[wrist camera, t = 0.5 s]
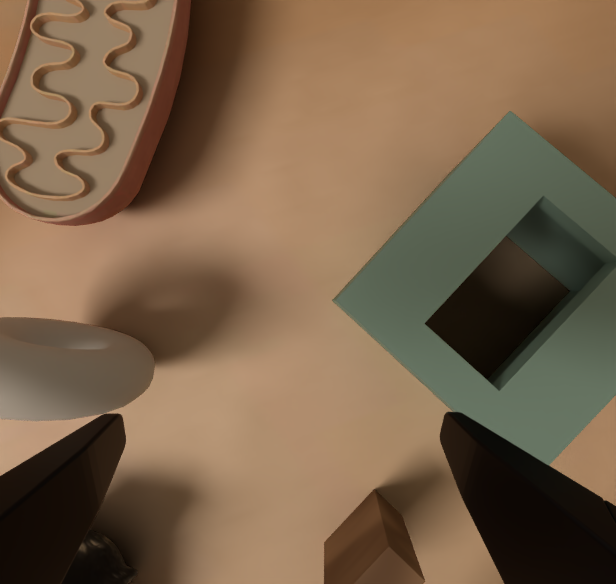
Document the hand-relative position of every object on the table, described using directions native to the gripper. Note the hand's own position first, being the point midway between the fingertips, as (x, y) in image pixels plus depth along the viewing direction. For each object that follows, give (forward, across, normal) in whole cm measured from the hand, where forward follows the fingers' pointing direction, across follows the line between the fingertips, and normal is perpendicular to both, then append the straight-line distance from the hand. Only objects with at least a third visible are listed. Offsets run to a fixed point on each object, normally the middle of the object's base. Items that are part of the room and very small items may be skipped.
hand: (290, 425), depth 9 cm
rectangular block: (+8, -6, +15) cm, 18 cm away
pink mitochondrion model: (+21, +11, -13) cm, 27 cm away
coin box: (+12, -12, 0) cm, 17 cm away
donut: (+14, +12, +5) cm, 19 cm away
